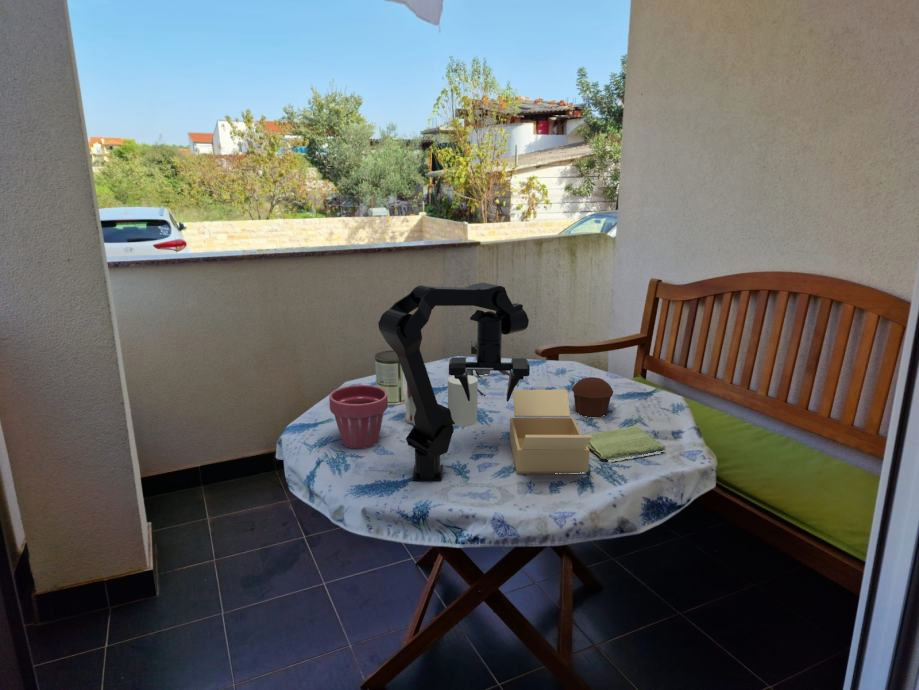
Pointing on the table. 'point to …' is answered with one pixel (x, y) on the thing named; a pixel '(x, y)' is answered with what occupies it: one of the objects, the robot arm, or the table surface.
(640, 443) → the washcloth
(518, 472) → the carton
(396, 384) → the coffee can
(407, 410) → the silver metal cylinder
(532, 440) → the near flap
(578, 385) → the muffin
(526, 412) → the far flap
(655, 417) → the table surface
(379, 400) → the plant pot
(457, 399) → the off-white closed cylinder
